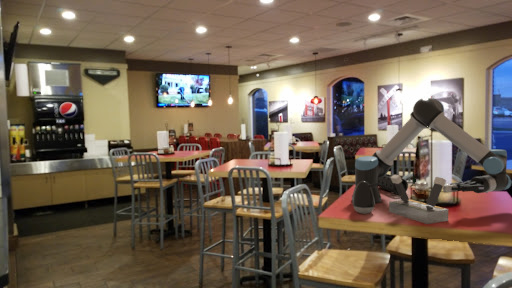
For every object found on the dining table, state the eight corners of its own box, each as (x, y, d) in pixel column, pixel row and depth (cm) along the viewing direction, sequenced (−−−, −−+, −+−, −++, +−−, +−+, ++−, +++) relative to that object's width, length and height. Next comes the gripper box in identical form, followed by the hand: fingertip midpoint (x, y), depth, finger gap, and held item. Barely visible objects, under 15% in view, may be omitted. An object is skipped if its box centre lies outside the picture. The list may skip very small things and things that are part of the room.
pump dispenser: (371, 216, 177) (371, 183, 176) (349, 213, 183) (349, 181, 182) (377, 211, 186) (378, 180, 185) (356, 209, 191) (356, 178, 190)
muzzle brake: (392, 196, 219) (392, 178, 218) (371, 187, 247) (371, 171, 246) (408, 195, 220) (408, 177, 220) (385, 186, 248) (385, 170, 247)
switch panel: (389, 212, 184) (389, 201, 184) (408, 209, 189) (408, 198, 188) (426, 224, 163) (427, 211, 163) (448, 220, 167) (448, 208, 167)
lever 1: (401, 202, 183) (390, 177, 180) (405, 199, 184) (394, 174, 181) (407, 204, 180) (395, 178, 177) (411, 201, 181) (399, 175, 177)
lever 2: (423, 206, 170) (435, 176, 172) (427, 208, 171) (439, 179, 173) (430, 208, 167) (442, 177, 168) (434, 210, 168) (446, 180, 169)
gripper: (495, 195, 174) (457, 200, 165) (469, 190, 186) (432, 194, 177) (495, 178, 174) (457, 182, 165) (470, 174, 186) (432, 178, 177)
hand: (444, 189), depth 171 cm, fingers closed
